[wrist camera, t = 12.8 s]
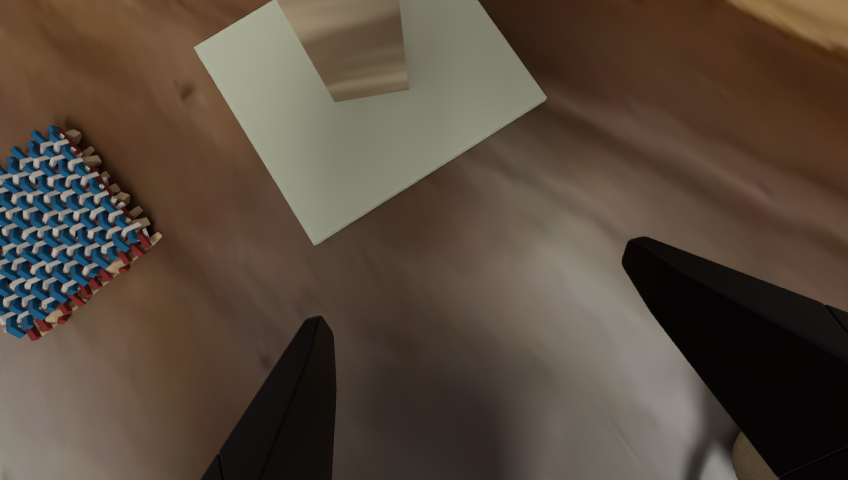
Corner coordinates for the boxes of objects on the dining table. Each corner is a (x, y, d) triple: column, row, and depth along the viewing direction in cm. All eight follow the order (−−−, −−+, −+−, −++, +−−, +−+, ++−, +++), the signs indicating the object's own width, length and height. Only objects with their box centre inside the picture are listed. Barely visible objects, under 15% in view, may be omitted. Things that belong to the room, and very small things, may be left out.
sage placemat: (315, 245, 20) (313, 245, 19) (198, 51, 21) (193, 47, 21) (544, 100, 20) (547, 97, 20) (416, -79, 22) (416, -86, 21)
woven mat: (49, 345, 20) (6, 354, 18) (-38, 224, 21) (-89, 220, 19) (175, 241, 21) (147, 239, 19) (85, 127, 21) (49, 113, 19)
